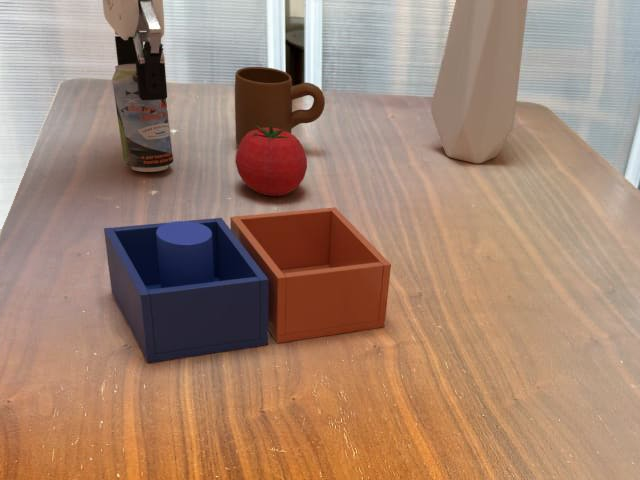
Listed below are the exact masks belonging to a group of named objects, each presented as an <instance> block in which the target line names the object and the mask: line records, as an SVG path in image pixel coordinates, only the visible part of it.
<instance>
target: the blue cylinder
mask: <svg viewBox="0 0 640 480" xmlns="http://www.w3.org/2000/svg"><path fill="white" fill-rule="evenodd" d="M189 221H190V220H178V221H176V220H175V221H169V222H170V223H168V222H165V223H166V224H163V225H161V226H160V227H159V228H158V229H157V231H156V237H157V249H158V260H159V272H160V284H161V288H167V287H175V286H184V285H192V284H200V283H209V282H214V268H213V243H212V232H211V230H210V229H209V228H208V227H206V226H204V225H202V224H199V223H195V222H189Z"/></svg>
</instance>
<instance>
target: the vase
mask: <svg viewBox="0 0 640 480" xmlns="http://www.w3.org/2000/svg"><path fill="white" fill-rule="evenodd" d="M528 1H529V0H455V3H454V6H453V11H452V14H451V15H452V16H451V19H450V23H449V28H448V31H447V37H446V40H445V45H444V49H443V54H442V57H441V61H440V66H439V70H438V74H437V79H436V83H435V87H434V91H433V96H432V100H431V106H430V113H431V116H432V120H433V122H434V126H435V128H436V130H437V133H438V137H439V139H440V142H441V144H442V148H443V150H444V153H445V155H446V157H449V158H451V159H455V160H459V161H464V162H468V163H471V164H472V163H473V164H478V165H479V164H482V163H485V162H488V161H490V160H492V159H494V158H496V157H497V156H498V155H499V153H500V152H501V150H502V148H503V146H504V145H505V143H506V141H507V140H508V138H509V136H510V135H511V133H512V132H513V128H514V124H515V117H516V109H517V100H518V90H519V82H520V81H519V80H520V72H521V64H522V55H523V47H524V37H525V30H526V29H525V27H526V19H527V18H526V17H527V10H528V3H529V2H528Z"/></svg>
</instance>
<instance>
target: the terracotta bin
mask: <svg viewBox="0 0 640 480" xmlns="http://www.w3.org/2000/svg"><path fill="white" fill-rule="evenodd" d="M229 218H230V219H229V220H230V230H231V231H232V232H233V234H234V235H235V236H236V237H237V239H238V240H239V241H240V243H241V244H242V245H243V247H244V248H245V249H246V251H247V252H248V253H249V255H250V256H251V257H252V258H253V260H254V261H255V262H256V264H257V265H258V266H259V268H260V269H261V270H262V272H263V273H264V274H265V276H266V277H267V278H268V333H269V334H270V335H271V337H272V339H274V341H275V342H276V344H280V343H281V344H282V343H286V342H287V343H289V342H295V341H301V340H307V339H315V338H319V337H320V338H321V337H327V336H333V335H339V334H340V335H341V334H346V333H353V332H359V331H366V330H373V329H379V328H384V327H385V324H386V317H387V308H388V307H387V306H388V297H389V290H390V289H389V288H390V278H391V269H392V263H390V262H389V261H388V260H387V258H386V257H385V256H384V255H382V254H381V253H380V251H378V249H377V248H376V247H375V246H373V245H374V244H372V243H371V242H370V241H369V240H368V239H367V238H366V237H365V236H364V235H363V234H362V233H361V232H360V231H359V230H358V229H357V227H355V226H354V225H353V223H352V222H351V221H349V220H348V218H346V216H344V215H343V213H342V212H341V211H340V210H339V209H338V208H337V207H335V206H334V207H325V208H315V209H314V208H313V209H304V210H303V209H302V210H301V209H300V210H291V211H281V212H269V213H259V214H257V213H256V214H248V215H247V214H246V215H235V216H230V217H229Z"/></svg>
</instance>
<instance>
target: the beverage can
mask: <svg viewBox="0 0 640 480" xmlns="http://www.w3.org/2000/svg"><path fill="white" fill-rule="evenodd" d="M114 68H115V71H114V73H113V75H112V79H111V82H112V88H113V97H114V103H115V109H116V116H117V123H118V130H119V136H120V143H121V149H122V156H123V163H124V164H125V165H127V166H129V167H130V168H131V170H132V171H137V172H143V173H144V172H145V173H149V172H150V173H152V172H153V173H154V172H161V171H165V170H168V168H169V165H171V164H172V163H173V162H174V156H173V155H174V154H173V146H172V137H171V129H170V121H169V113H168V105H167V98H166V99H164V100H141V99H140V97H139V92H138V82H137V72H136V64H123V65H118V64H117V65H115V67H114Z"/></svg>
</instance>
